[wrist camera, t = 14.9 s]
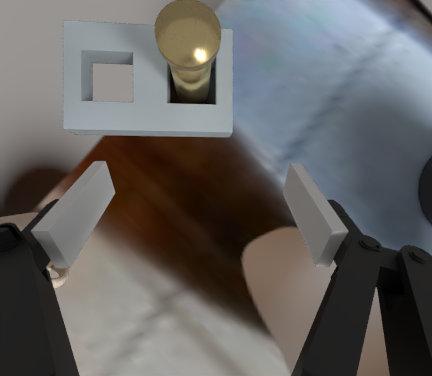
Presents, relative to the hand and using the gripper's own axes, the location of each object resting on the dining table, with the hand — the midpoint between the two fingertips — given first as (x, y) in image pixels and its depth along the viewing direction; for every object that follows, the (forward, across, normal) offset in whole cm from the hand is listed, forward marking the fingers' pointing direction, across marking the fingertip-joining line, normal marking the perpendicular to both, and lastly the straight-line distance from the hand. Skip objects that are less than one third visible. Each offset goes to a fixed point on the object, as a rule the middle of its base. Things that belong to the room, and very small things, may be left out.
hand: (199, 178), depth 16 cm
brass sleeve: (+21, -2, +2) cm, 21 cm away
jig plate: (+21, -7, +2) cm, 22 cm away
